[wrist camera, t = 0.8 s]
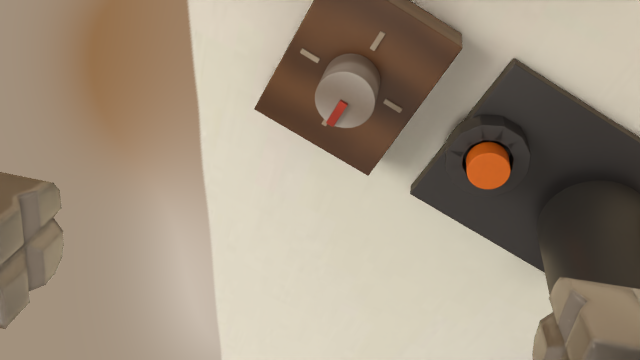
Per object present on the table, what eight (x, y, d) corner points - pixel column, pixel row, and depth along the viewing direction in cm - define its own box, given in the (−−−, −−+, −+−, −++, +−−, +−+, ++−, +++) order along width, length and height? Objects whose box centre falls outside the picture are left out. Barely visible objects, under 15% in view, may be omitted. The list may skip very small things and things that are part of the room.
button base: (405, 183, 49) (403, 203, 47) (508, 54, 43) (512, 69, 40) (569, 279, 51) (575, 303, 49) (692, 171, 45) (706, 192, 42)
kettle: (623, 125, 41) (702, 269, 28) (716, 184, 42) (834, 349, 29) (484, 265, 49) (496, 427, 36) (565, 312, 50) (605, 486, 37)
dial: (341, 42, 41) (332, 61, 38) (391, 72, 42) (386, 94, 38) (313, 88, 43) (303, 110, 40) (361, 116, 44) (354, 140, 41)
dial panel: (339, -44, 41) (332, -34, 39) (462, 33, 42) (462, 48, 40) (264, 93, 48) (253, 110, 45) (372, 157, 49) (367, 177, 46)
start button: (457, 164, 45) (458, 176, 43) (483, 134, 43) (484, 145, 42) (491, 184, 45) (492, 196, 44) (517, 155, 44) (519, 167, 42)
